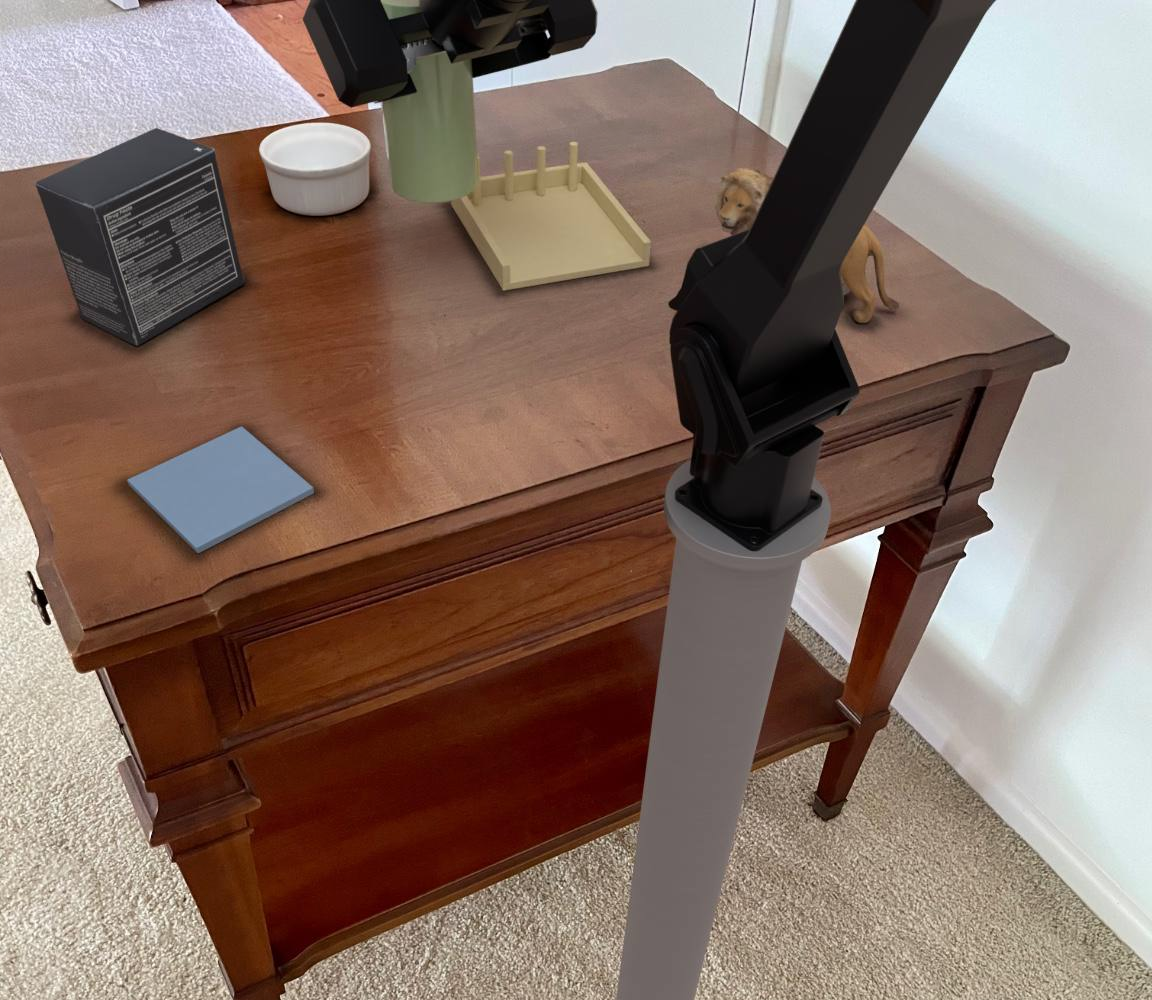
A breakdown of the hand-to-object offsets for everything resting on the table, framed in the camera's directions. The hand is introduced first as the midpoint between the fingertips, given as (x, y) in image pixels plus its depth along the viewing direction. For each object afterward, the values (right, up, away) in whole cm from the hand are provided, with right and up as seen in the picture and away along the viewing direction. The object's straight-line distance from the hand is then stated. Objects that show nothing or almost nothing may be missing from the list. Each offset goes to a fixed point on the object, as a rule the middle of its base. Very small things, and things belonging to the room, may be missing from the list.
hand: (416, 84), depth 78 cm
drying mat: (-11, -29, -9) cm, 32 cm away
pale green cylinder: (+1, -5, +4) cm, 7 cm away
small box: (-19, -14, +5) cm, 24 cm away
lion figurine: (+28, -13, +8) cm, 31 cm away
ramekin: (-10, -2, +17) cm, 20 cm away
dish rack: (+9, -6, +13) cm, 17 cm away
